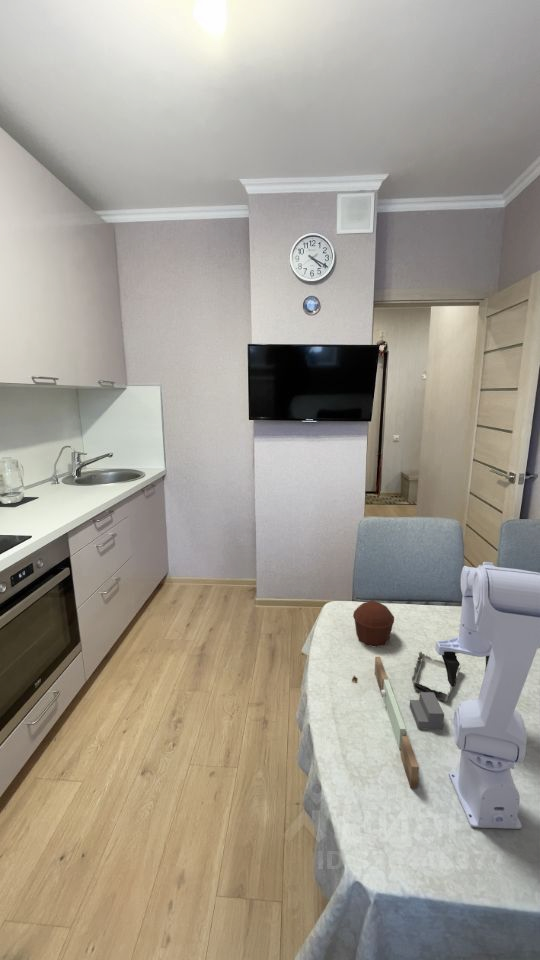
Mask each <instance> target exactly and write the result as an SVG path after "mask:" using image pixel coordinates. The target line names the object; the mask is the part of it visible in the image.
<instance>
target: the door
mask: <svg viewBox="0 0 540 960" xmlns="http://www.w3.org/2000/svg"><path fill="white" fill-rule="evenodd" d="M381 694H382V695H381ZM380 695H381V697H382V696H383V697H382V699H383V702H384V704H385V708H386V711H387V714H388V717H389V721H390V723H391V728H392V730H393V734H394V736H395V739H396V740H395V741H396V743H397V746H398V749H399V750H401V739H402V731H406V730H407V729H406V726H405V723H404V721H403V718H402V714H401V712H400V709H399V706H398V704H397V700H396V698H395V695H394V692H393V690H392V687H391V684H390V681H389V679H388V680H384V685H383V690H381V692H380ZM406 732H407V731H406Z"/></svg>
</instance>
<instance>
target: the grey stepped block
mask: <svg viewBox="0 0 540 960" xmlns="http://www.w3.org/2000/svg"><path fill="white" fill-rule="evenodd" d="M442 708H443V707H441V704H440V702H439V699H437V698H436V696H435V694H434V692H420V691H419V698H418V699H409V710H410V712H411V714H412V717H413V720H414V722H415V725H416V726H417V730H444V720H445V719H444V718H445V712H444V711H443V709H442Z"/></svg>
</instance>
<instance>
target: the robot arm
mask: <svg viewBox="0 0 540 960" xmlns="http://www.w3.org/2000/svg"><path fill="white" fill-rule="evenodd" d="M460 590H461V595H462V599H461V600H462V601H461V609H460V623H459V633H458V637H454V638H449V639H446V640H437V641H435V651H436V653H437V654H438V656H441V658H442V661H443V662H444V663H445V667H446V668H445V670H446V675H447V682H448V683H449V685H451V686H452V687H453V688H455V687H456V684H457V679H456V676H457V673H458V672H457V670H458V667H459V668H460V665H461V663H460V661H459V660H458V658H457V655H456V654H462V655H466V656H471V657H476V658H485V670H484V675H483V679H482V682H481V687H480V690H479V693H478V698H475V699H469V700H468V699H467V700H462V701H460V702H459V705H458V706H457V708H456V709H455V710H454V713H453V738H454V744H455V745H456V747H457V749H458V750H460V758H459V759H460V760H459V769H458V770H450V771H448V776H449V778H450V780H451V781H450V782H452V785H453V787H454V789H455V790H454V791H455V792H456V795H457V797H458V799H459V801H460V802H459V803H460V804H461V806H462V809H463V811H464V813H465V816H466V818H467V820H468V823H469V825H470V827H472V828H484V829H485V828H486V829H487V828H488V829H517V830H518V829H521V828H522V823H521V821H520V819H519V817H518V814H519V809H520V807H519V805H520V799H521V797H520V793H519V790H518V788H517V786H516V783H514V779H513V776H512V770H513V769H515V768H514V767H515V763H516V764H522V762H523V761H524V759H525V757H526V751H527V747H526V745H527V741H528V738H527V732H526V731H527V729H526V726H525V721H524V719H523V717H522V714H520V713H519V712H518V711H517V710H516V707H517V705H518V702H519V699H520V696H521V694H522V691H523V688H524V686H525V683H526V680H527V677H528V675H529V672H530V670H531V666H532V665H533V662H534V659H535V657H536V654H537V651H538V649H540V572H538V571H537V572H536V571H531V570H524V569H519V568H510V567H509V568H508V567H499V566H496V565H494V562H490V561H483V562H482V564H479V565H478V566H477V567H471V566H467V565H464V566H462V570H461V573H460ZM511 769H512V770H511Z"/></svg>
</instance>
